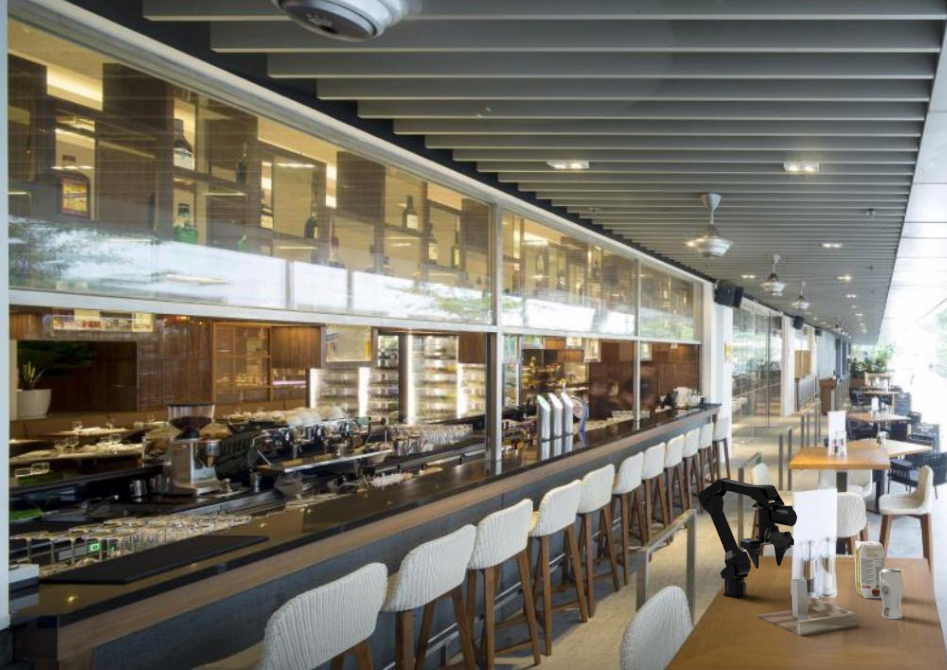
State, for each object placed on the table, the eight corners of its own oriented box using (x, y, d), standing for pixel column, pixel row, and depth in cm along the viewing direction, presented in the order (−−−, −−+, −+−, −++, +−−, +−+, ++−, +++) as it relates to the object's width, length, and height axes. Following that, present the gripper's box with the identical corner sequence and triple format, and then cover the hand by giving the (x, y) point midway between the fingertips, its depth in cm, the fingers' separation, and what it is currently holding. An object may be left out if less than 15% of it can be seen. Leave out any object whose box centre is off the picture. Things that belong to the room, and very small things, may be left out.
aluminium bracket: (792, 620, 265) (791, 579, 266) (802, 618, 267) (801, 578, 267) (806, 625, 260) (804, 584, 260) (816, 624, 261) (814, 582, 261)
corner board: (757, 616, 271) (756, 604, 271) (811, 608, 279) (811, 596, 279) (800, 635, 252) (799, 622, 252) (857, 626, 260) (857, 613, 260)
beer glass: (879, 618, 268) (878, 571, 268) (880, 612, 274) (878, 566, 274) (903, 621, 264) (902, 574, 265) (903, 614, 270) (902, 569, 271)
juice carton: (887, 599, 288) (886, 544, 289) (863, 599, 288) (861, 544, 289) (877, 592, 296) (876, 539, 296) (853, 593, 296) (852, 540, 296)
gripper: (760, 528, 274) (761, 575, 273) (805, 523, 280) (806, 569, 280) (738, 522, 284) (739, 567, 284) (782, 518, 291) (783, 562, 290)
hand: (767, 567), depth 284 cm, fingers open, 9 cm apart
